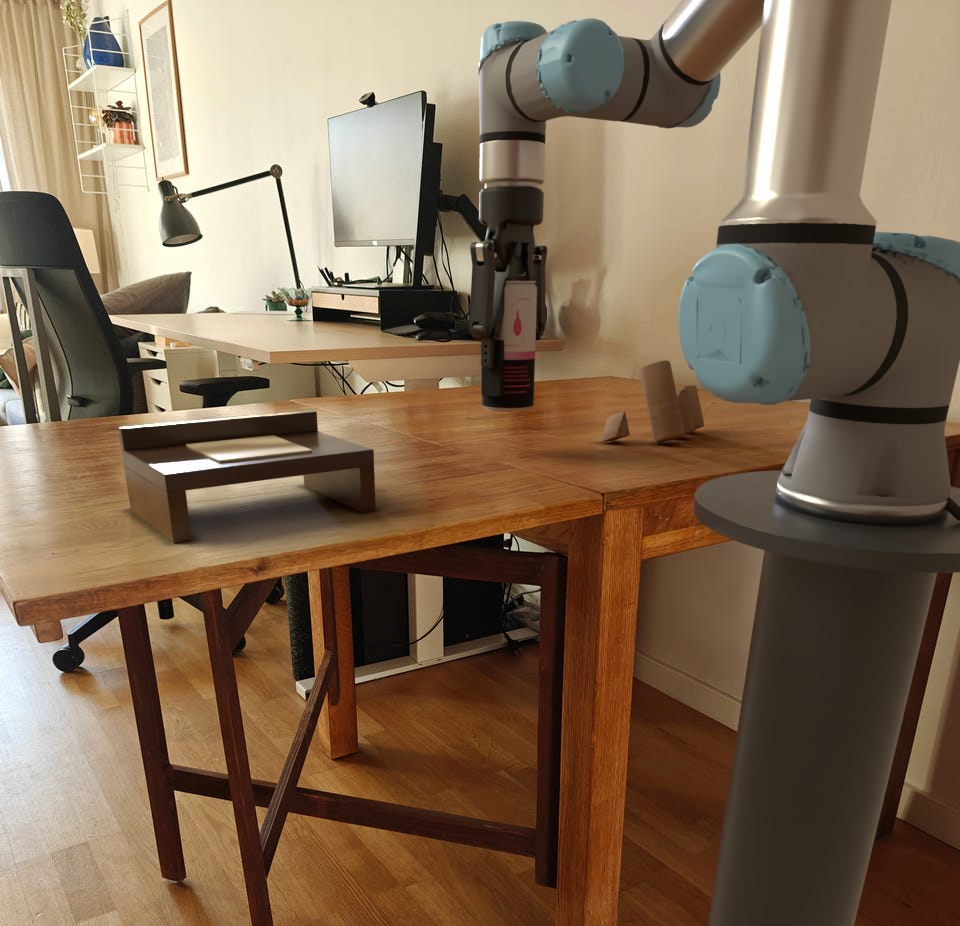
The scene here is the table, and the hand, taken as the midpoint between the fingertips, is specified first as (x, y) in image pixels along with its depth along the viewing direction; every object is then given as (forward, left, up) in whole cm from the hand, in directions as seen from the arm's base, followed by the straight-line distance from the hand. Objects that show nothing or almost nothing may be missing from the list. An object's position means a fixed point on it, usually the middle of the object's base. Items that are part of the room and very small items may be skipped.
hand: (508, 392), depth 109 cm
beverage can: (0, 0, -2) cm, 2 cm away
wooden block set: (-4, -25, -8) cm, 27 cm away
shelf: (-9, +38, -8) cm, 40 cm away
